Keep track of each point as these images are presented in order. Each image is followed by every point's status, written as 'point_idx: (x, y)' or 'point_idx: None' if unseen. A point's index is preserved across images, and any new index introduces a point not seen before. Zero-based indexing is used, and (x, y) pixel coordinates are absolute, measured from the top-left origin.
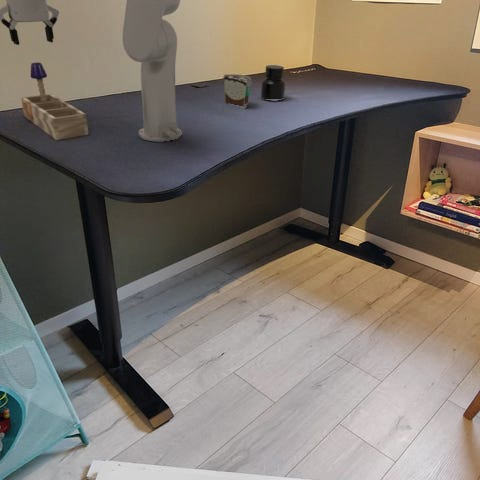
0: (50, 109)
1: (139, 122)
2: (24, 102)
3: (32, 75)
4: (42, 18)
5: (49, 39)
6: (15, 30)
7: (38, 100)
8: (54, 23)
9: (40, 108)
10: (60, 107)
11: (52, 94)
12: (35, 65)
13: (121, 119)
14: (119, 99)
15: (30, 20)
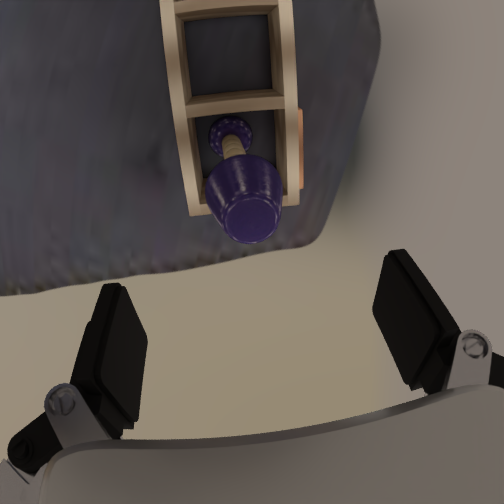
0: (254, 3)
1: (5, 23)
2: (301, 161)
3: (279, 178)
4: (126, 470)
5: (125, 309)
6: (448, 325)
7: None
8: (36, 419)
9: (284, 31)
10: (189, 101)
11: (188, 207)
12: (264, 193)
13: (32, 57)
14: (18, 251)
15: (333, 435)
